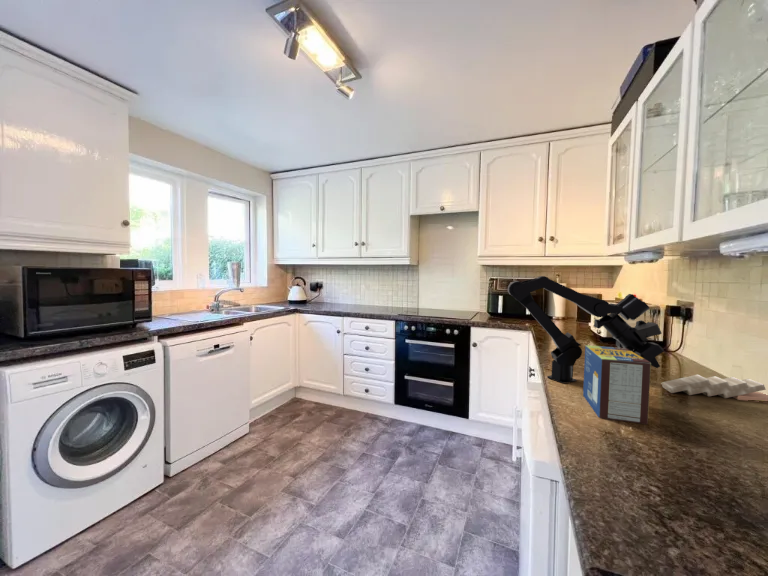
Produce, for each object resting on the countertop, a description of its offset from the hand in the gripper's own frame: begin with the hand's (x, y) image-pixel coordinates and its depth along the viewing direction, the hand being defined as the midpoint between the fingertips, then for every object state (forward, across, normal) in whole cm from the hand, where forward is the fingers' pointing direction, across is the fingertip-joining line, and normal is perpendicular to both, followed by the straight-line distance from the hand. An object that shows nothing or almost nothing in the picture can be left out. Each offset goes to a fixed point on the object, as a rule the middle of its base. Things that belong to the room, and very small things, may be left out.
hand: (658, 367), depth 100 cm
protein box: (-8, -21, +19) cm, 30 cm away
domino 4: (+15, 0, -7) cm, 16 cm away
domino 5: (+18, 0, -9) cm, 20 cm away
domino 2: (+9, 0, 0) cm, 9 cm away
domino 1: (+6, 0, +3) cm, 7 cm away
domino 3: (+12, 0, -4) cm, 13 cm away
